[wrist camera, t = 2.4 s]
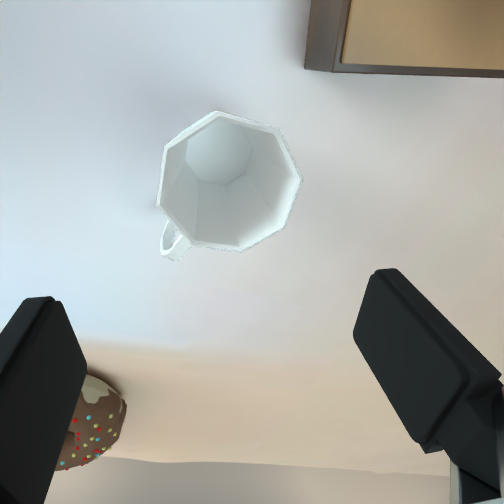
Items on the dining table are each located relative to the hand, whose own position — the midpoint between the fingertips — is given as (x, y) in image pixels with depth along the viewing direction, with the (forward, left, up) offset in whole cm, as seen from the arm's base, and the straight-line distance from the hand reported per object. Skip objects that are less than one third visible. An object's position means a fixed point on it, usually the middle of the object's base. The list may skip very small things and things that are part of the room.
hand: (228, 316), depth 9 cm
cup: (0, 0, -15) cm, 15 cm away
